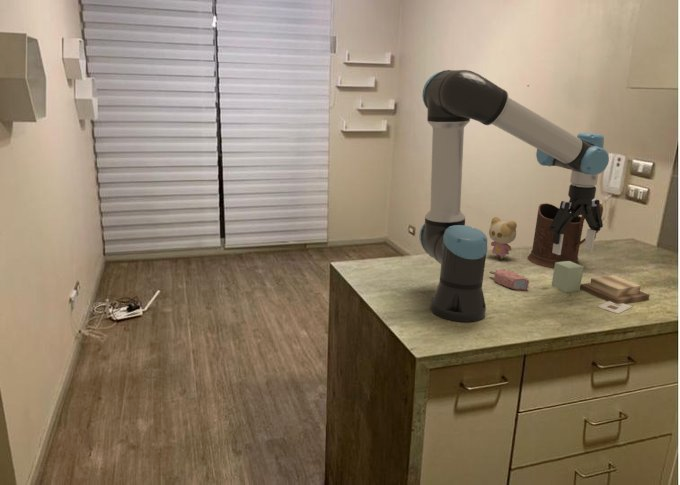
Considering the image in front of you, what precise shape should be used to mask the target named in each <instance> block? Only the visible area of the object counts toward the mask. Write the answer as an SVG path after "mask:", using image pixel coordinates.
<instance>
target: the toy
mask: <svg viewBox="0 0 680 485" xmlns="http://www.w3.org/2000/svg"><path fill="white" fill-rule="evenodd" d="M517 227H518V226H517V222H516V221H515V220H510V221H508V222H507V221H503V220H501V218H499V217H497V216H494V217H493V218H491V222H490V226H489V231H488V235H489V238H490V239H491V240H492V242H490V246H491V247H493V248H492V251H491V253H493V254H494V255H495V257H494V258H496V259H498V258H499V259H500V260H504V259H505V255H509V252H511V251H512V247H511V245H510V244H511V243H512V242H513V241H515V239H516V237H517Z"/></svg>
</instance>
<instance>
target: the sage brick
mask: <svg viewBox="0 0 680 485" xmlns="http://www.w3.org/2000/svg"><path fill="white" fill-rule="evenodd" d="M584 267H585V266H583V265H581V264H580V265H578V264H576V263H573V262H571V261H564V262H556V263H555V267H554V269H553V274H552V280H551V287H552V288H555V289H557V290H559V291H562V292H563V293H571V292H578V291H581V289H580V286H581V284H582V279H583V273H584Z"/></svg>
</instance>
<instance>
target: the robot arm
mask: <svg viewBox="0 0 680 485" xmlns="http://www.w3.org/2000/svg"><path fill="white" fill-rule="evenodd" d="M421 94H422V102H423V104H424V106H425V107H426V109H427V118H426V119H427V123H428V124H429V125H430V126H431V127H432V138H431V139H432V140H431V142H432V143H431V172H430V173H431V178H430V180H431V181H430V210H429V211H428V212H427V213H426V214H425V216H424V223H423V225H422V226H421V227H420V230H419V242H420V245H421V247H422V249H424V251H425V253H426V254H427V255H428V256H430V257H431V258H433V259H434V260H435V261H436V262H437V263H439V264H440V271H439V281H438V284H437V287H436V289H435V292H434V294H433V296H432V298H431V300H430V310H431V312H432V313H433V314H434V315H436V316H437V317H440V318H442V319H444V320H449V321H455V322H463V323H471V322H477V321H480V320H482V319H484V318H485V317H486V312H487V306H486V302H485V297H484V291H483V281H484V276H485V274H484V273H485V266H486V260H487V253H488V237H487V235H486V234H485V233H484V232H483V231H482V230H481V229H478V228H476V227H472V226H470V225H466V215H465V214H464V213H462V211H461V200H462V198H461V197H462V179H463V178H462V176H463V172H462V171H463V161H464V160H463V157H464V137H465V136H464V135H465V134H464V133H465V127H466V126H467V125H468V124H469V123H470V122H471V120H473V121H476V122H479V123H481V124H482V125H484V126H491V125H493V126H494V127H497V128H498V129H501V130H502V131H504V132H505V133H507V134H509V135H511V136H513V137H515V138H517V139H518V140H520V141H522V142H524V143H526V144H528V145H530V146H531V147H534V148H535V149H536V152H535V153H536V154H535V156H536V161H537V163H538V164H539V165H541V166H542V167H543V166H545V167H546V166H547V167H558V168H563V169H566V170H571V174H570V180H569V183H570V185H569V186H568V187H569V188H568V193H567V195H568V197H569V201H565V200H561V202H560V205H559V207H558V208H559V210H558V212H557V214H556V216H555V218H554V220H553V222H552V224H551V226H550V228H549V231H551V232H553V233H554V236H553V250H552V253H555V254H557V255H561V249H562V242H563V236H564V235H563V234H562V232H563V231H564V230H565V228H566V227H567V226H568V224H569V223H570V222H571V220H572V219H573V218H575V217H576V216H582V215H583V216H584V218H585V220H584V221H586V224H587V225H588V228H587V230H586V235H585V238H586V240H585V242H584V247H583V249H585V250H587V251H592V252H593V251H594V249H593V248H594V246H595V245H594V244H595V240H596V236H597V233H596V232H597V231H598V232H599V231H601V229H602V228H603V226H604V223H603V220H602V217H601V213H600V209H599V203H601V202H600V199H596V192H597V187H596V186H597V185H598V178H599V175H600V174H601V173H603V172H604V171H605V170H606V169H607V167H608V165H609V162H610V156H609V153H608V151H607V150H606V149H605V148H604V143H605V137H604V135H603V134H601V133H597V132H596V133H594V132H580V133H577V135H574V134H572V133H570V132H569V131H568V130H566V129H564V128H562V127H560V126H558V125H557V124H555V123H554V122H551V121H550V120H548V119H547V118H545V117H543V116H541V115H539V114H538V113H536V112H535V111H533V110H531V109H529V108H528V107H526V106H524V105H522V104H521V103H519V102H517V101H516V100H513V99H512V98H510V96H509V93H508V91H506V90H505V89H503V88H502V87H500V86H498V85H497V84H496V83H494V82H492V81H490V80H489V79H487V78H486V77H483V76H482V75H481V74H479V73H477V72H474V71H472V70H468V69H459V70H458V69H456V70H455V69H454V70H453V69H445V70H444V69H443V70H442V71H438V72H436V73H434V74H432V75H431V76H430V77H429V78H428V79H427V80H426V82H425V84H424V86H423V88H422V93H421ZM559 229H560V230H559Z"/></svg>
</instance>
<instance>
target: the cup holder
mask: <svg viewBox="0 0 680 485" xmlns="http://www.w3.org/2000/svg"><path fill="white" fill-rule="evenodd" d="M559 208H560V207H557V206H555V205H554V204H551V203H547V202H546V203H540V204H539V206H538V209H537V215H536V216H537V217H536V222H535V229H534V235H533V236H534V237H533V244H532V249H531V251H530V254H529V255H528V256H527V257H526V258H527V260H528V261H529V262H530V263H531V264H534V265H536V266H540V267H543V268H548V269H553V270H554V267H555V263H556V262H564V261H571V262H573V263H576V264H578V265H581V264H580V262H579V252H580V245H582V244H584V243H585V240H586V237H585V238H583V239H582V240H581V238H582V234H583V229H584V223H585V221H586V220H585V218H584V216H583V215H579V216H576V217H575V218H573V219H572V220H571V222H570V223H569V224H568V226H567V227H566V228H565V230H564V231H563V232H562V234H563V235H564V236H563V242H562V249H561V255H557V254H555V253H552V250H553V236H554V233H553V232H551V231H549V228H550V226H551V224H552V222H553V220H554V218H555V216H556V214H557V212H558V210H559ZM599 209H600V213H601V218H602V216H603V213H604V212H603V211H604V206H603V204H601V202H599ZM559 230H560V229H559ZM597 233H599V231H597V232H596V234H597Z"/></svg>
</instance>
